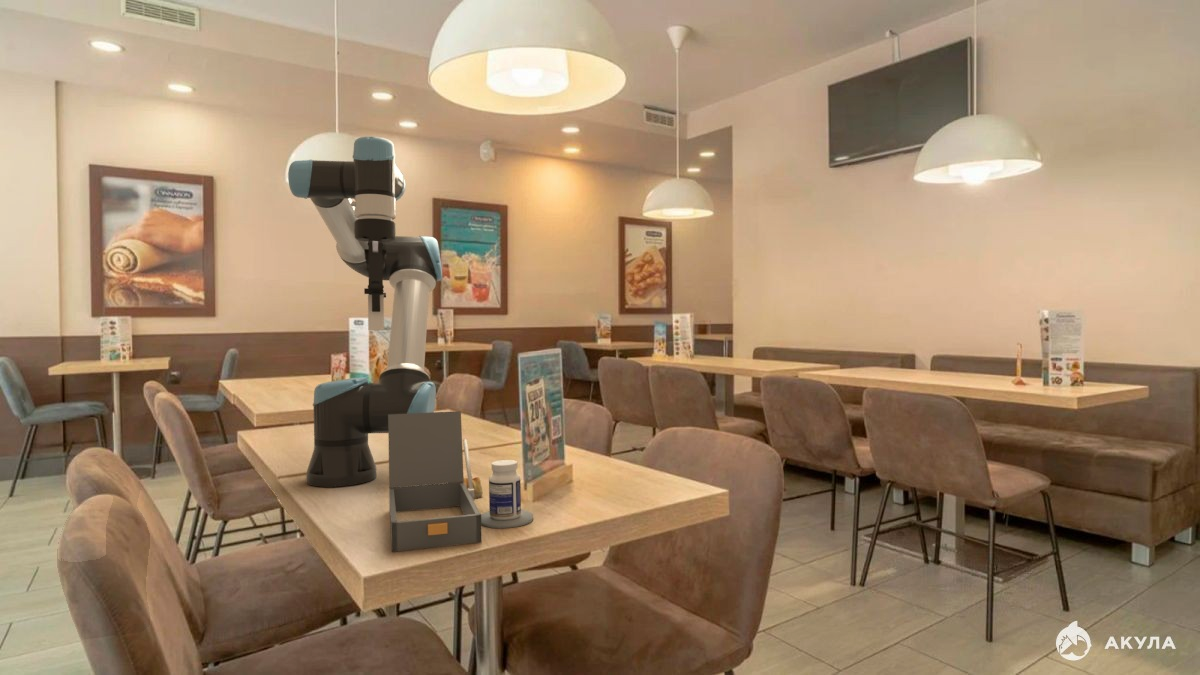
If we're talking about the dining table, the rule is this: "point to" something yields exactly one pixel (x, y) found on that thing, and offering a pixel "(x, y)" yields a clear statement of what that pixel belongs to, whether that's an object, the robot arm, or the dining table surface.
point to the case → (430, 481)
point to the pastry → (475, 486)
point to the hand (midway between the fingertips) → (376, 330)
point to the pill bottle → (504, 491)
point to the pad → (520, 521)
